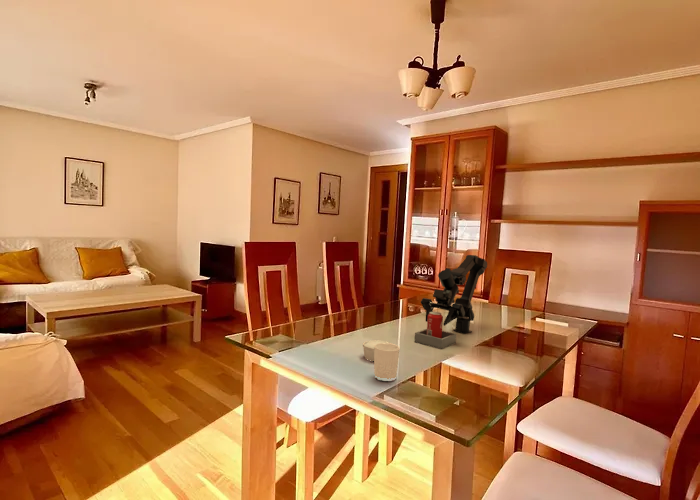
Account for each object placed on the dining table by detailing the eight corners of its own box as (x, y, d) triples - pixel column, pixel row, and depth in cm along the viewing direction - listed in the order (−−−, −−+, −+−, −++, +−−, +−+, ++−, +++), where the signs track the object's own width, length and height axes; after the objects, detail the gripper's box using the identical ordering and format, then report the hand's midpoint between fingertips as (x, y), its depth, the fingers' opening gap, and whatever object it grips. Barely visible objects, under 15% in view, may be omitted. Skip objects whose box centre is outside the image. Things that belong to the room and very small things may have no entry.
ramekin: (362, 352, 141) (362, 338, 141) (391, 354, 141) (392, 340, 141) (362, 363, 130) (362, 348, 130) (394, 365, 130) (395, 350, 130)
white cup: (371, 373, 121) (372, 342, 121) (395, 373, 122) (396, 343, 121) (374, 383, 113) (376, 350, 113) (400, 383, 114) (402, 351, 114)
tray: (429, 336, 168) (429, 327, 168) (455, 343, 160) (456, 334, 160) (414, 342, 159) (415, 332, 158) (441, 349, 150) (442, 339, 150)
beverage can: (444, 342, 158) (446, 314, 157) (431, 343, 156) (432, 314, 155) (436, 338, 164) (438, 311, 163) (423, 338, 162) (425, 311, 161)
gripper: (424, 279, 167) (409, 307, 159) (464, 285, 155) (450, 315, 147) (431, 295, 173) (417, 323, 166) (470, 302, 161) (457, 332, 153)
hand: (434, 323), depth 158 cm, fingers open, 8 cm apart
